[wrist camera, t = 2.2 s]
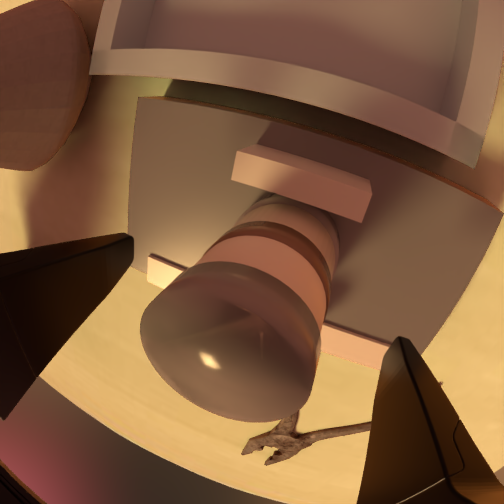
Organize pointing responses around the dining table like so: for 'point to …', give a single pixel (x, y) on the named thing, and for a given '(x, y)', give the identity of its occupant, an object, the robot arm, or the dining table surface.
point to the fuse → (249, 314)
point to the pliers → (295, 438)
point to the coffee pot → (40, 81)
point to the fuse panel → (316, 194)
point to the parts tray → (326, 57)
